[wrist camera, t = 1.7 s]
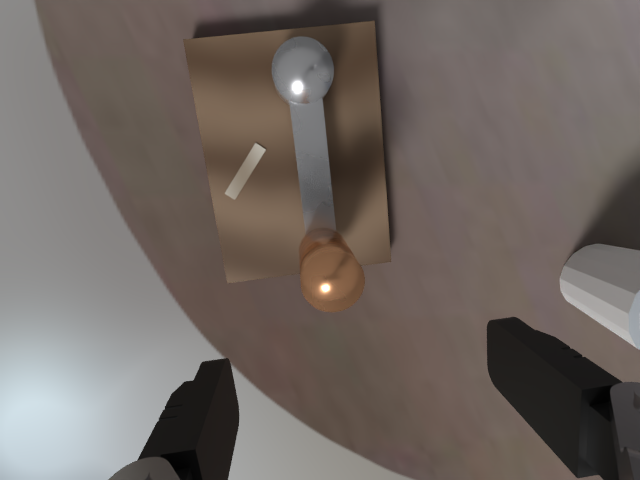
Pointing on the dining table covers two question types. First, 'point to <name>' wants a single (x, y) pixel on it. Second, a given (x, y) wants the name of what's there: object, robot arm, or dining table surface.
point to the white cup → (606, 287)
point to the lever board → (288, 147)
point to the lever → (316, 176)
